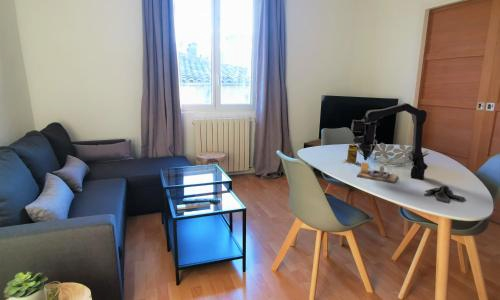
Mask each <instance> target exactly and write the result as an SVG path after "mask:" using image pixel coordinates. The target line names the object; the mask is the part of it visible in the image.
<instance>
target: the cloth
mask: <svg viewBox="0 0 500 300" xmlns="http://www.w3.org/2000/svg"><path fill="white" fill-rule="evenodd" d="M424 191H425V192H424V194H423V196H424V197H430V196H431V195H434V196H435V197H436V199H435V201H437V202H441V203H445V204H450V200H451V199H452V200H455V201H457V202H458V203H464V201H465V200H466V198H465V197H464V196H461V195H456V194H453V191H452V190H451V189H450V187H449V186H448V185H441V186H440V187H434V188H430V189H427V190H424Z"/></svg>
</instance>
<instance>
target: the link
mask: <svg viewBox="0 0 500 300" xmlns="http://www.w3.org/2000/svg"><path fill="white" fill-rule="evenodd" d="M360 164H361V166H360V171H361V172H362V173H368V174H370V176H374V177H380V178H387V177H388V175H389V174H390V172H387V171H384V174H385V176H384V175H378V174H374V173H379V170H376V169H372V170H371V171H368V170H370V169H369V168H370V163H369V162H365V161H362V162H361V163H360Z"/></svg>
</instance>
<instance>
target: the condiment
mask: <svg viewBox="0 0 500 300" xmlns="http://www.w3.org/2000/svg"><path fill="white" fill-rule="evenodd" d="M357 156H358V145H357V144H355V143H353V144H352V143H350V144H349V145H348V148H347V156H346V157H347V159H344V160H343V162H342V163H348V164H353V165H354V164H355V165H356V164H357V163H358V160H357Z"/></svg>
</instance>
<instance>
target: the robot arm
mask: <svg viewBox="0 0 500 300" xmlns="http://www.w3.org/2000/svg"><path fill="white" fill-rule="evenodd" d="M402 112H406V113H408V114H410V115H411V120H412V123H413V134H412V135H413V137H412V149H411V151H408V157H407V159H408V160H409V162H410V163H411V165H412V168H411V169H410V178H411V179H416V180H417V179H418V180H425V179H424V178H425V173H426V170H427V168H428V165H427V164H426V162H425V159H424V153H423V151H422V147H423V132H424V131H423V129H424V124H425V123H426V120H427V116H428V112H427V111H426V110H424V109H421V108H417V107H415V106H413V105H411V104H410V103H406V102H403V103H401V104H398V105H393V106H389V107H386V108H382V109H370V110H367V111H366V112H365V116H364V117H363V118H362V119H361V120H356V119H352V123H351V126H350V127H351V128H350V129H351V130H350V131H351V132H352V133H363V132H364V133H363V135H361V136H359V135H358V136H354V137H353V139H352V141H353V142H354V145H357V144H358V143H361V144H359V147H358V148H359V150H360V151H361V152H362V155H363V160H364V161H367V159H368V158H370V157H371V155H372V154H373V153H374V150H375V149H376V147H377V145H378V140H377V139H375V138H376V135H377V134H376V128H377V126H380V125H381V123H379V120H380V119H382V118H384V117H386V116H391V115H394V114H398V113H402Z"/></svg>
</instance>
